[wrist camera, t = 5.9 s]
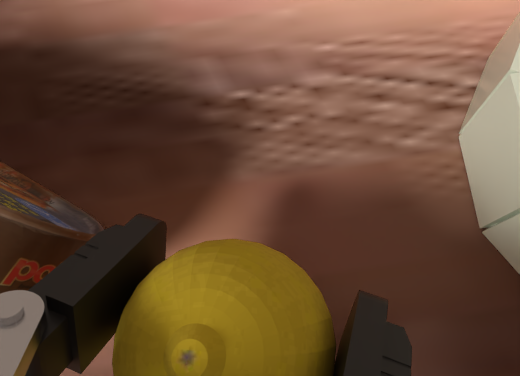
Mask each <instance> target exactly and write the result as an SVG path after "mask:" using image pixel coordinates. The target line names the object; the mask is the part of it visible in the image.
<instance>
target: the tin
mask: <svg viewBox="0 0 520 376" xmlns="http://www.w3.org/2000/svg"><path fill="white" fill-rule="evenodd" d="M103 230H104V228H103V227H102V226H101V224H100V223H99V222H98V221H97V220H96V219H94V218H93V217H92V216H90V215H89V214H88V213H86V212H85V211H83V210H82V209H80V208H78V207H76V206H75V205H74V204H72V203H70V202H69V201H67V200H66V199H64V198H62V197H60V196H59V195H57V194H56V193H54V192H52V191H50V190H48V189H47V188H45V187H43V186H42V185H40V184H38V183H37V182H35V181H33V180H31V179H30V178H28V177H26V176H25V175H23V174H21V173H19V172H18V171H16V170H14V169H13V168H11V167H9V166H8V165H6V164H4V163H2V162H1V161H0V294H1V293H4V292H8V291H14V290H25V291H28V290H29V289H31V288H32V287H33V286H34V285H35V284H37V283H38V282H39V281H40V280H41V279H43V278H44V277H45V276H46V275H47V274H49V273H50V272H51V271H52V270H54V269H55V268H56V267H57V266H58V265H60V264H61V263H62V262H63V261H64V260H66V259H67V258H68V257H69V256H71V255H74V253H75V251H77V250H78V249H79V248H80V247H81V246H83V245H84V246H85V244H86V242H88V241H89V240H90V239H91V238H92V237H94V236H95V235H96V234H97V233H98V232H100V231H103Z"/></svg>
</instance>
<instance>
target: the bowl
mask: <svg viewBox="0 0 520 376" xmlns="http://www.w3.org/2000/svg"><path fill="white" fill-rule="evenodd" d="M459 134H461V135H460V136H459V141H460V146H461V150H462V154H463V159H464V163H465V167H466V171H467V176H468V180H469V184H470V189H471V193H472V197H473V202H474V206H475V210H476V215H477V219H478V223H479V227H480V228H487V229H485V230H484V231H483V232H482V233H483V234H484V235H485V236H486V238H487V239H488V240H489V241H490V242H491V243H492V244H493V245H494V247H495V248H496V249H497V250H498V251H499V252H500V253H501V254H502V255H503V257H504V258H505V259H506V260H507V261H508V262H509V263H510V264H511V266H512V267H513V268H514V269H515V270H516V271H517V272H518V273H519V274H520V12H519V13H518V15H517V16H516V18H515V19H514V21H513V22H512V24H511V25H510V27H509V28H508V30H507V31H506V33H505V34H504V36H503V37H502V39H501V40H500V42H499V43H498V44H497V46H496V47H495V49H494V50H493V52H492V53H491V55H490V56H489V58H488V60H487V63H486V65H485V68H484V71H483V73H482V76H481V78H480V81H479V83H478V86H477V88H476V91H475V93H474V96H473V99H472V101H471V104H470V106H469V109H468V111H467V114H466V116H465V119H464V122H463V124H462V127H461V129H460V132H459Z"/></svg>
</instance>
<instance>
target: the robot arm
mask: <svg viewBox="0 0 520 376" xmlns="http://www.w3.org/2000/svg"><path fill="white" fill-rule="evenodd" d="M165 253H166V223H165V222H164V221H161V220H158V219H155V218H152V217H149V216H147V215H144V214H138V215H136V216H135V217H134V218H133V219H131V220H130V221H129V222H128V223H127V224H126V225H125V226H120V225H115V226H112V227H110V228H107V229H105V230H103V231H100V232H98V233H97V234H96V235H95V236H94V237H92V238H91V239H90V240H89V241H88V242H86V244H85V246H84V245H83V246H81V247H80V248H79V249H78V250H77V251H75V253H74V255H71V256H69V257H68V258H67V259H66V260H64V261H63V262H62V263H61V264H60V265H58V266H57V267H56V268H55V269H54V270H52V271H51V272H50V273H49V274H47V275H46V276H45V277H44V278H43V279H41V280H40V281H39V282H38V283H37V284H35V285H34V286H33V287H32V288H31V289H29V290H28V291H25V290H14V291H8V292H4V293H1V294H0V376H59V375H60V374H61V373H62V372H63V371H64V369H65V368H69V369H71V370H73V371H75V372H77V373H80V374H81V373H82V372H83V371H84V370H85V369H86V367H87V366H88V365H89V364H90V363H91V361H92V360H93V359H94V358H95V357H96V355H97V354H98V353H99V352H100V351H101V349H102V348H103V347H104V346H105V345H106V343H107V342H108V341H109V340H110V339H111V338H112V336H113V335H114V334H115V333H116V330H117V327H118V324H119V321H120V318H121V315H122V312H123V309H124V307H125V306H126V304H127V302H128V301H129V299H130V297H131V296H132V294H133V292H134V291H135V289H136V287H137V285H138V284H139V283H140V282H141V281H142V280H143V279H144V278H145V277H146V276H147V275H148V274H149V273H150V272H151V271H152V270H153V269H154V268H155V266H157V265H158V264H160V263H161V262H163V261H164V260H165ZM387 309H388V300H387V299H384V298H381V297H378V296H375V295H372V294H370V293H367V292H364V291H361V290H359V292H358V294H357V297H356V299H355V302H354V305H353V307H352V310H351V313H350V315H349V318H348V321H347V324H346V326H345V329H344V332H343V335H342V338H341V341H340V345H339V349H338V352H337V357H336V361H335V366H334V375H333V376H411V370H410V369H411V358H412V346H411V344H410V342H409V339H408V337H407V334H406V332H405V330H404V328H403V327H400V326H397V325H395V324H392V323H389V322H386V319H387Z"/></svg>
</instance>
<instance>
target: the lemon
mask: <svg viewBox="0 0 520 376" xmlns="http://www.w3.org/2000/svg"><path fill="white" fill-rule="evenodd" d="M335 352H336V341H335V335H334V329H333V323H332V317H331V315H330V312H329V310H328V308H327V305H326V303H325V301H324V298H323V296H322V294H321V292H320V290H319V289H318V288H317V286H316V285H315V284H314V282H313V281H312V280H311V278H310V277H309V276H308V274H307V273H306V272H305V271H304V270H303V269H302V268H301V267H300V266H298V265H297V264H296V263H295V262H293V261H292V260H291V259H290V258H288V257H287V256H286V255H285V254H283V253H281V252H279V251H276V250H274V249H272V248H270V247H268V246H265V245H263V244H261V243H256V242H250V241H244V240H238V239H225V240H213V241H205V242H202V243H199V244H197V245H194V246H191V247H188V248H185V249H182V250H180V251H178V252H176V253H175V254H173V255H172V256H170V257H169V258H167V259H166V260H164V261H163V262H161V263H160V264H158V265H157V266H155V268H154V269H153V270H152V271H151V272H150V273H149V274H148V275H147V276H146V277H145V278H144V279H143V280H142V281H141V282H140V283H139V284H138V285H137V287H136V289H135V291H134V292H133V294H132V296H131V297H130V299H129V301H128V302H127V304H126V306H125V307H124V309H123V312H122V315H121V318H120V321H119V324H118V327H117V330H116V333H115V338H114V349H113V359H112V366H113V374H114V376H333V375H334V366H335Z"/></svg>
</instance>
